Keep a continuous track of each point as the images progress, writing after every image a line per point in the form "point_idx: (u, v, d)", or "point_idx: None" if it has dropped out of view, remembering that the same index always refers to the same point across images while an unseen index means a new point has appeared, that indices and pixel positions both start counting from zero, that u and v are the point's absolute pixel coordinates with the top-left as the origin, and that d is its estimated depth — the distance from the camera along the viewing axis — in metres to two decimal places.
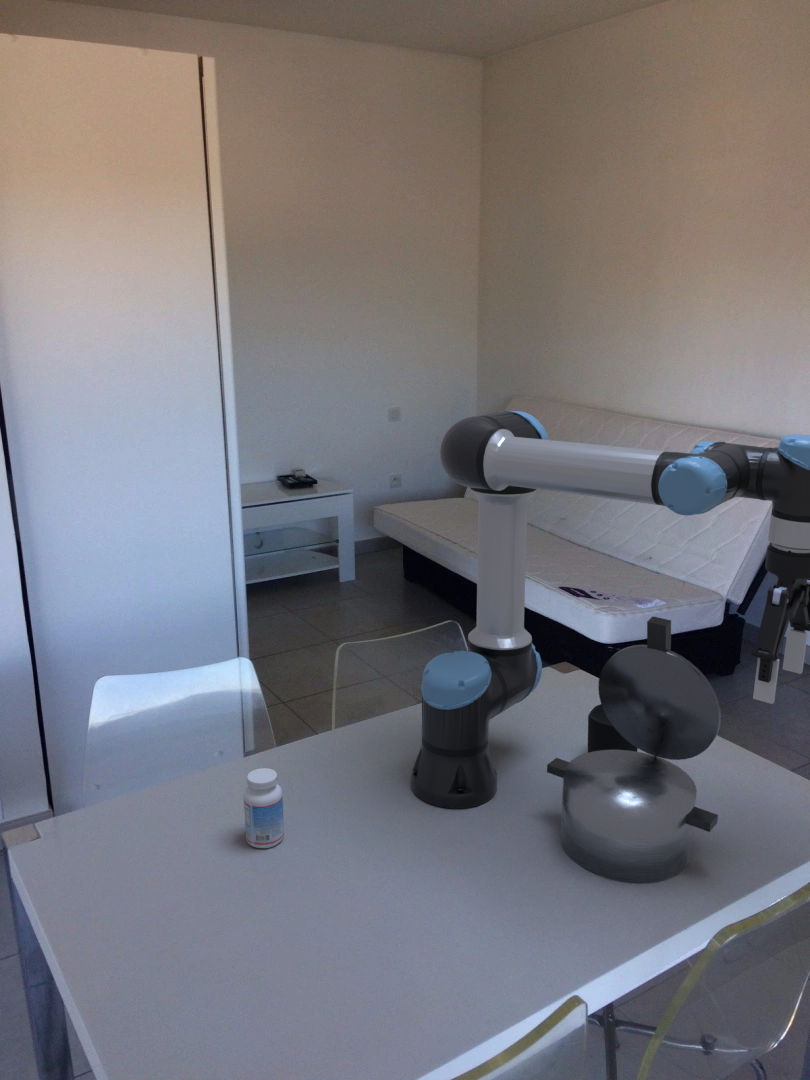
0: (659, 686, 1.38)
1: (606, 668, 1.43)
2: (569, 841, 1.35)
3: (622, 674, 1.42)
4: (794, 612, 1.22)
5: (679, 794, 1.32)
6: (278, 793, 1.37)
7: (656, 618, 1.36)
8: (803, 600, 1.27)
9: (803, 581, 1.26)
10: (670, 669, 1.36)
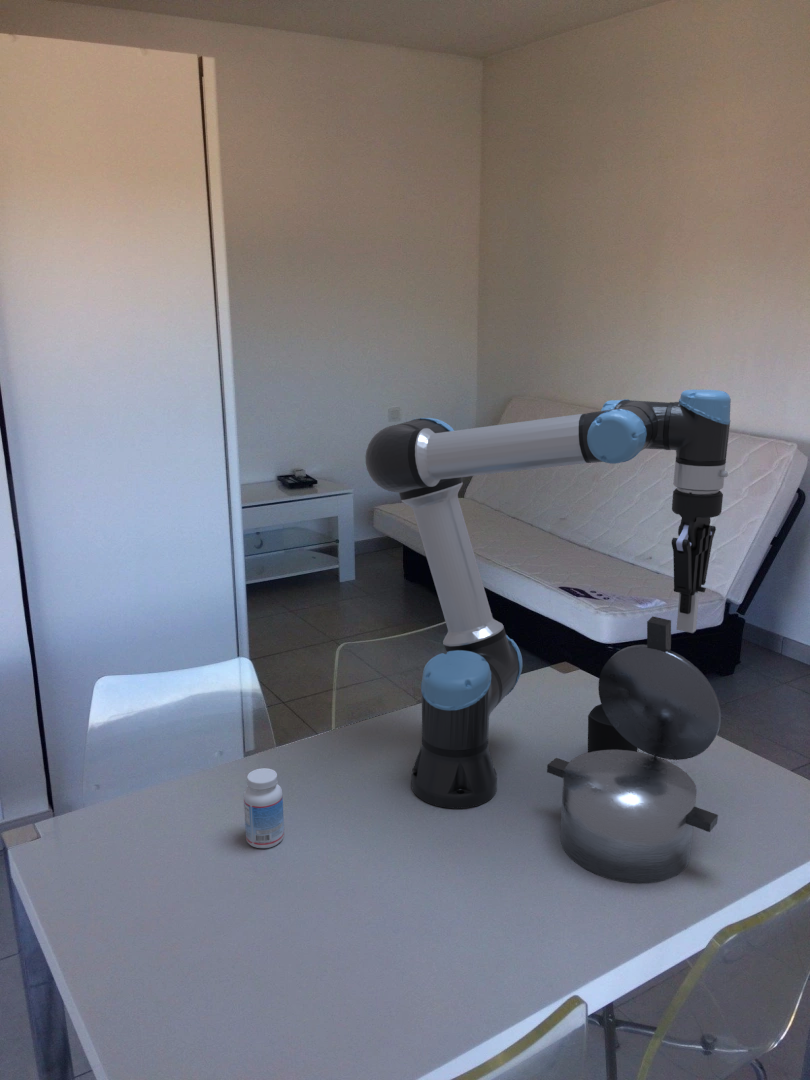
0: (659, 686, 1.38)
1: (606, 668, 1.43)
2: (569, 841, 1.35)
3: (622, 674, 1.42)
4: (700, 550, 1.39)
5: (679, 794, 1.32)
6: (278, 793, 1.37)
7: (656, 618, 1.36)
8: (703, 541, 1.40)
9: None
10: (670, 669, 1.36)
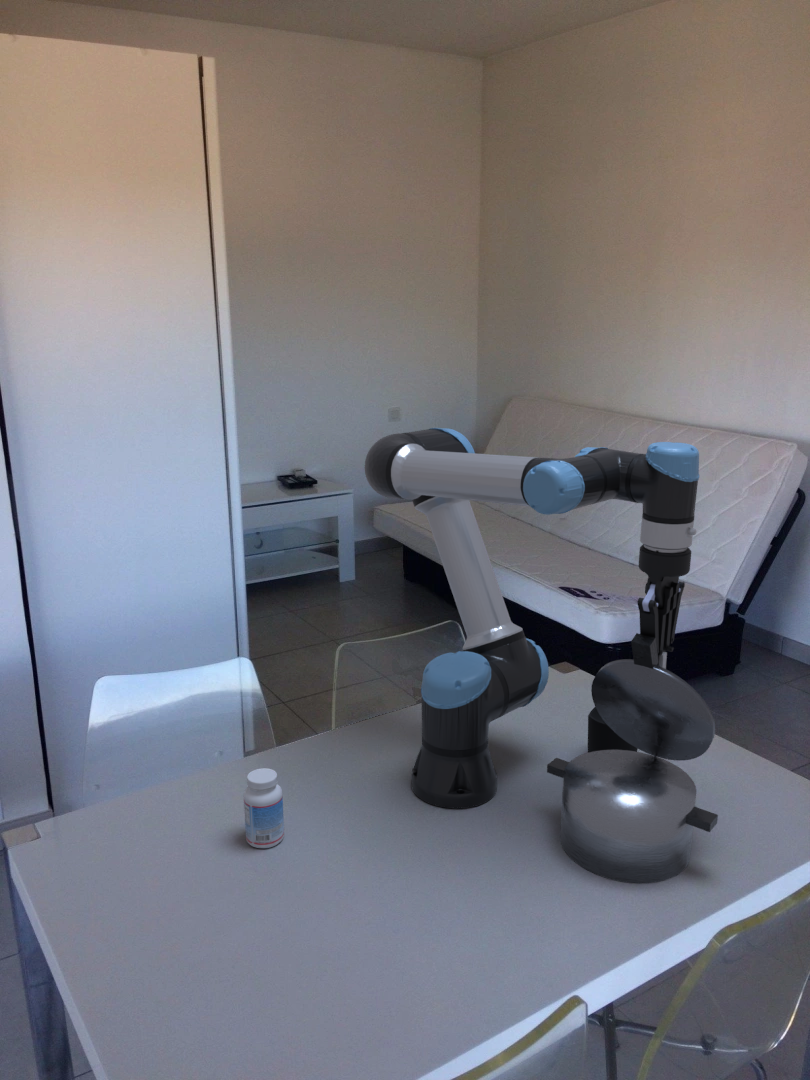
0: (651, 698, 1.36)
1: (597, 680, 1.41)
2: (569, 841, 1.35)
3: (613, 686, 1.40)
4: (667, 609, 1.33)
5: (679, 794, 1.32)
6: (278, 793, 1.37)
7: (640, 636, 1.32)
8: (671, 599, 1.34)
9: None
10: (659, 684, 1.33)
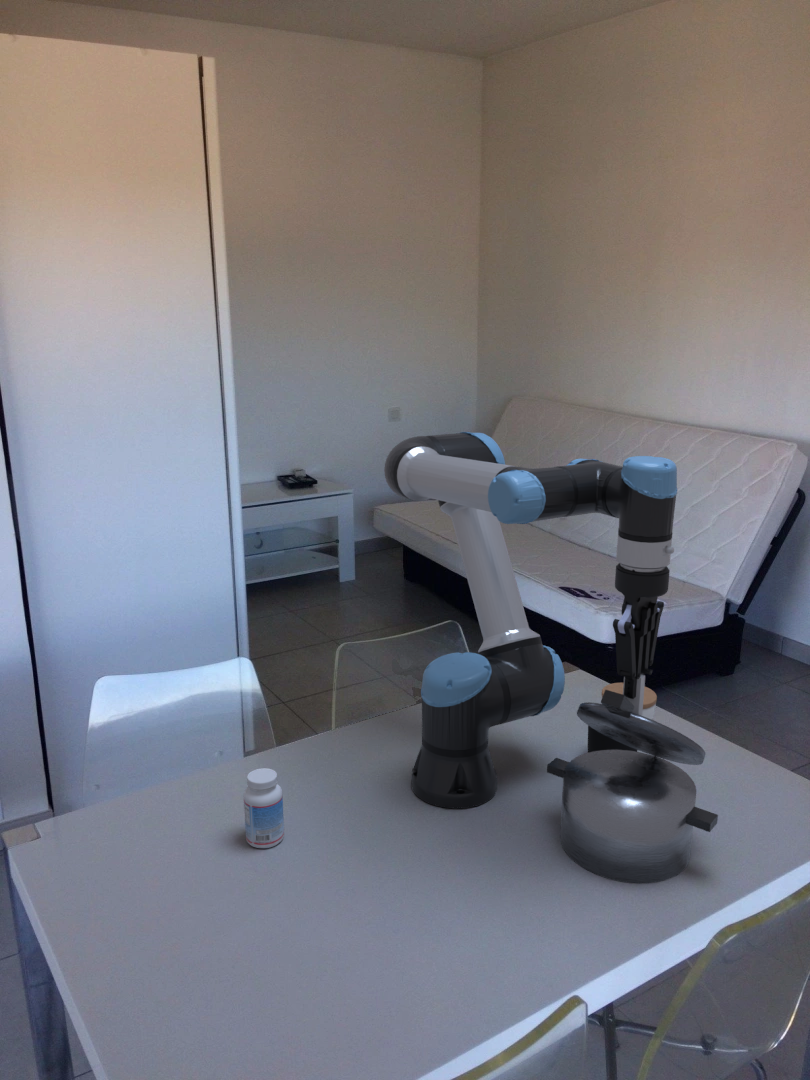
0: (635, 731, 1.33)
1: (580, 713, 1.38)
2: (569, 841, 1.35)
3: (596, 719, 1.37)
4: (645, 631, 1.27)
5: (679, 794, 1.32)
6: (278, 793, 1.37)
7: (609, 693, 1.27)
8: (649, 620, 1.28)
9: None
10: (639, 727, 1.30)
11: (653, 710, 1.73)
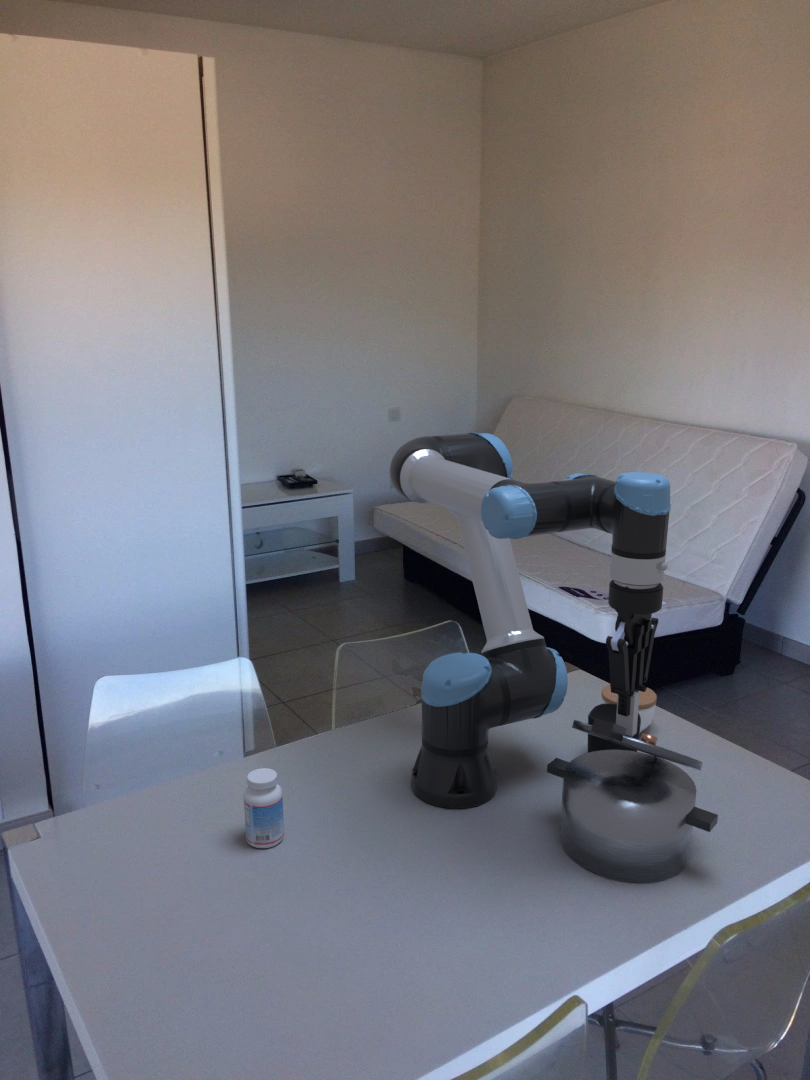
0: None
1: None
2: (569, 841, 1.35)
3: None
4: (638, 648, 1.26)
5: (679, 794, 1.32)
6: (278, 793, 1.37)
7: (599, 721, 1.25)
8: (643, 637, 1.28)
9: None
10: (633, 747, 1.29)
11: (653, 710, 1.73)
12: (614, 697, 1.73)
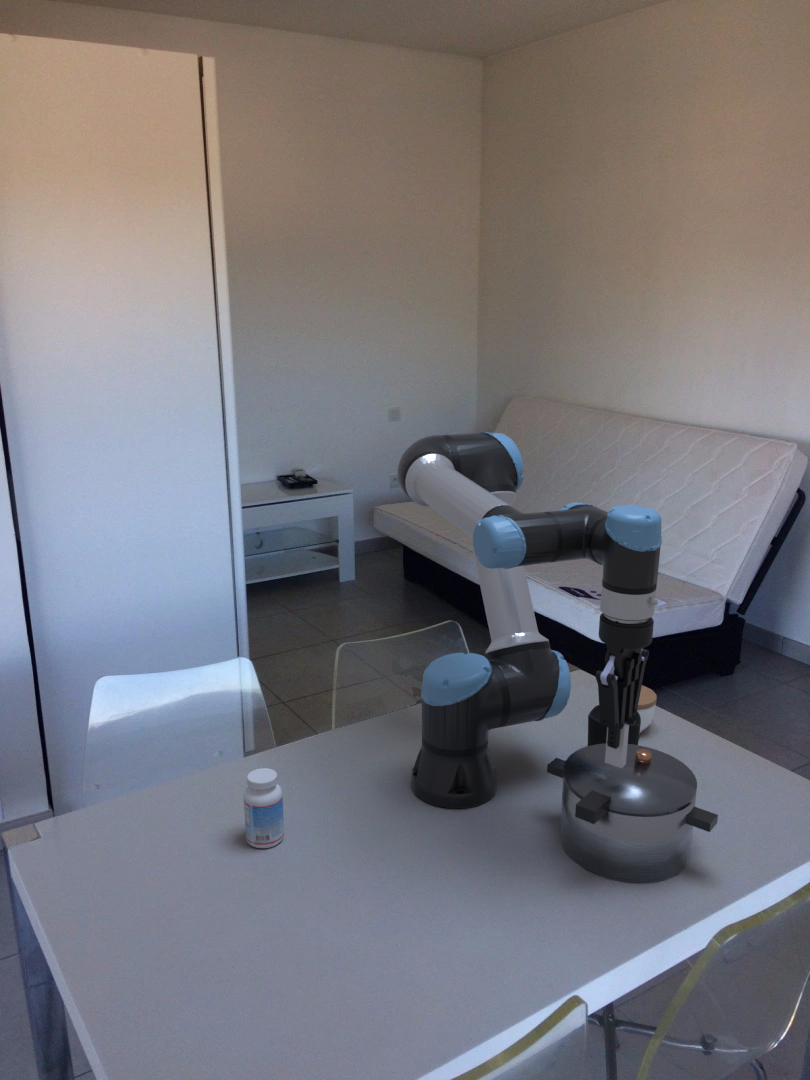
0: None
1: None
2: (569, 841, 1.35)
3: None
4: (628, 682, 1.26)
5: None
6: (278, 793, 1.37)
7: (580, 809, 1.25)
8: (633, 670, 1.27)
9: None
10: None
11: (653, 710, 1.73)
12: None
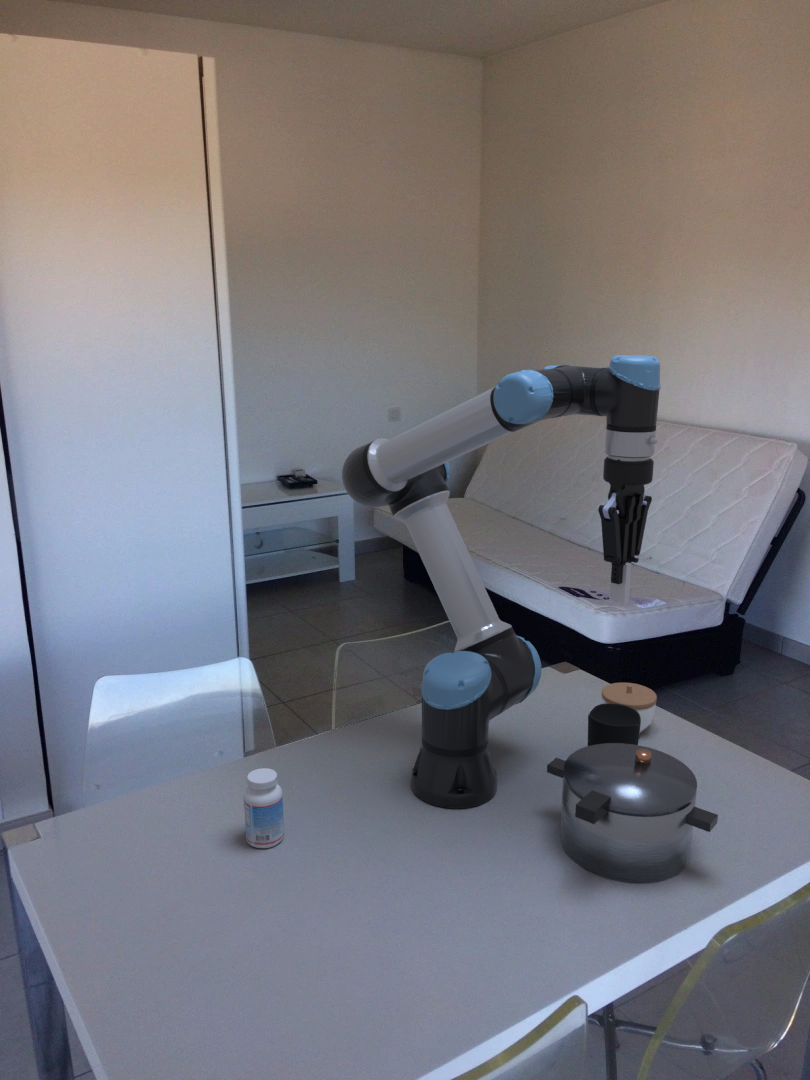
0: None
1: None
2: (569, 841, 1.35)
3: None
4: (630, 519, 1.37)
5: None
6: (278, 793, 1.37)
7: (580, 809, 1.25)
8: (635, 510, 1.38)
9: (640, 485, 1.39)
10: None
11: (653, 710, 1.73)
12: (614, 697, 1.73)
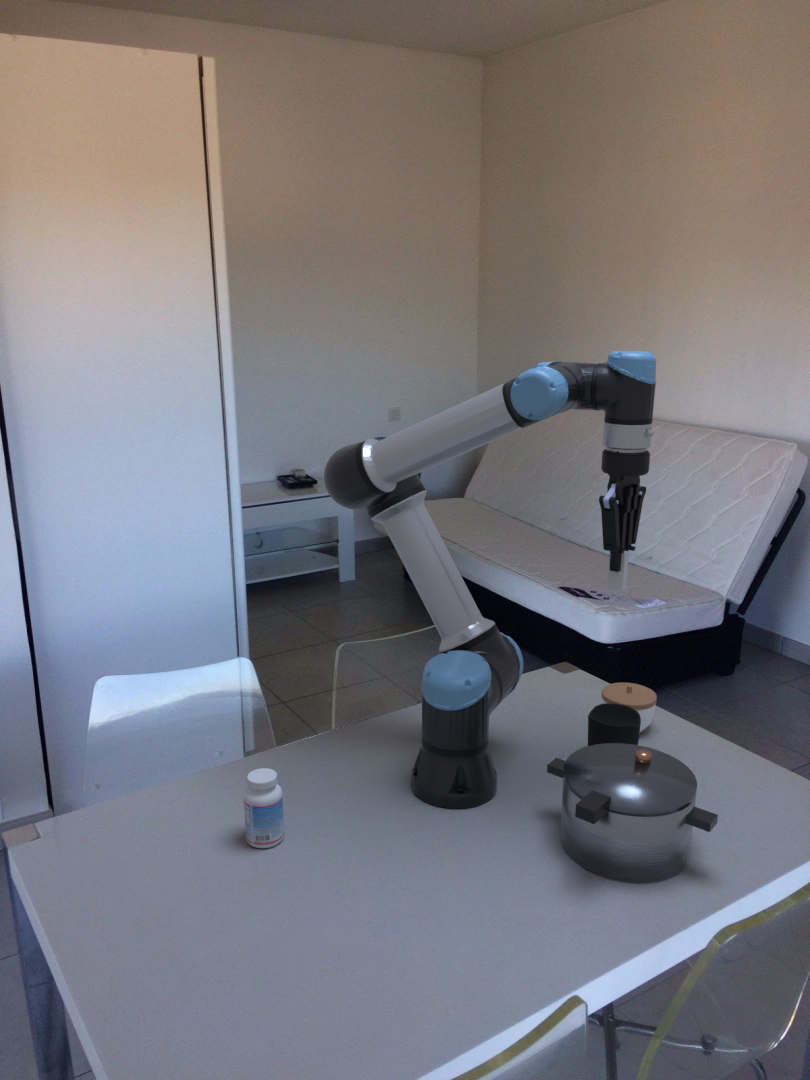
0: None
1: None
2: (569, 841, 1.35)
3: None
4: (628, 508, 1.42)
5: None
6: (278, 793, 1.37)
7: (580, 809, 1.25)
8: (632, 500, 1.44)
9: (636, 476, 1.44)
10: None
11: (653, 710, 1.73)
12: (614, 697, 1.73)
